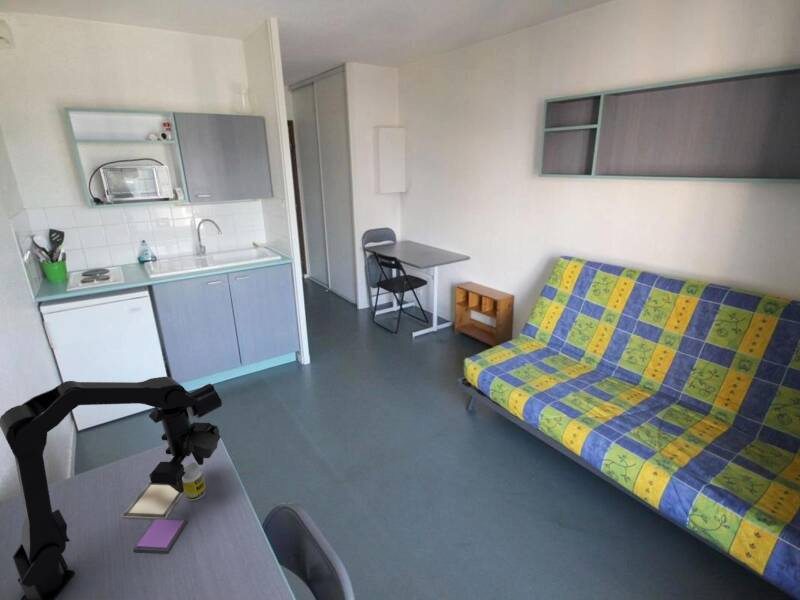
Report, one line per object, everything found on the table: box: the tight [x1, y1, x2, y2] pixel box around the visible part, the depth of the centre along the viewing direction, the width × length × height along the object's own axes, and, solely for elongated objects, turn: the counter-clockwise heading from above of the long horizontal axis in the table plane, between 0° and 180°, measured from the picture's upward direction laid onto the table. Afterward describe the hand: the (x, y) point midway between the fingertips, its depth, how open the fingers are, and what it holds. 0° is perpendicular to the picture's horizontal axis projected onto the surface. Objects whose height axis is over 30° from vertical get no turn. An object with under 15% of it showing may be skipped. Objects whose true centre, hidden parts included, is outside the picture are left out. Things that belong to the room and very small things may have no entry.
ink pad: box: [132, 518, 189, 554], centre depth 97 cm, size 8×8×1 cm
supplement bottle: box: [182, 462, 207, 502], centre depth 107 cm, size 5×5×8 cm
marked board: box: [121, 481, 185, 520], centre depth 107 cm, size 11×11×1 cm
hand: (191, 477), depth 107 cm, fingers open, 9 cm apart
